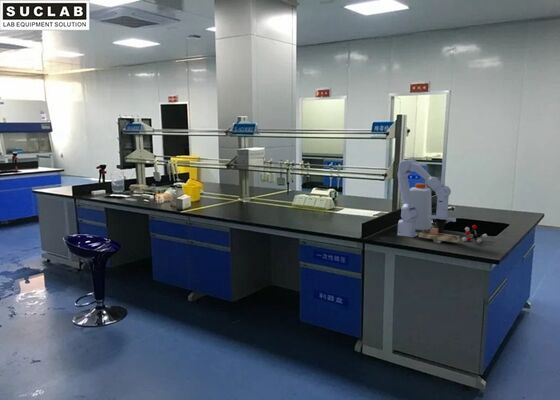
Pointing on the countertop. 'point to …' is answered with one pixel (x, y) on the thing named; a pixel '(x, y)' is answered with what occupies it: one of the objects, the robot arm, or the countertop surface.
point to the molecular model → (473, 234)
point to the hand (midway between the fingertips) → (440, 232)
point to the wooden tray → (439, 237)
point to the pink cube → (434, 231)
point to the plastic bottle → (422, 206)
